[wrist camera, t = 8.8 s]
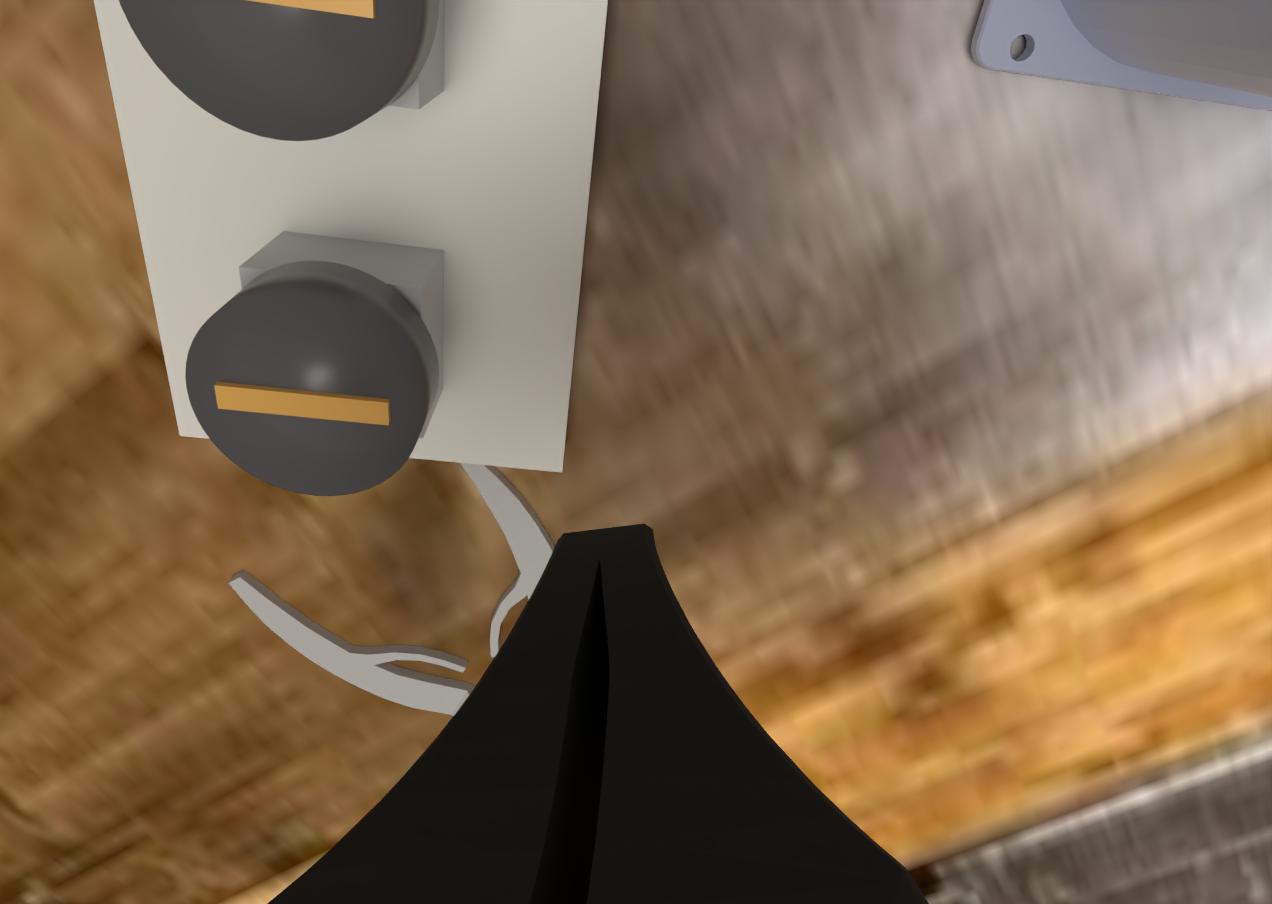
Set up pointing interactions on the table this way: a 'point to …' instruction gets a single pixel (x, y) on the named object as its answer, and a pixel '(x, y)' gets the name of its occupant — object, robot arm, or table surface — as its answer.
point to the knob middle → (288, 58)
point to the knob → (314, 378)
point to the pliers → (372, 662)
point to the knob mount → (397, 212)
